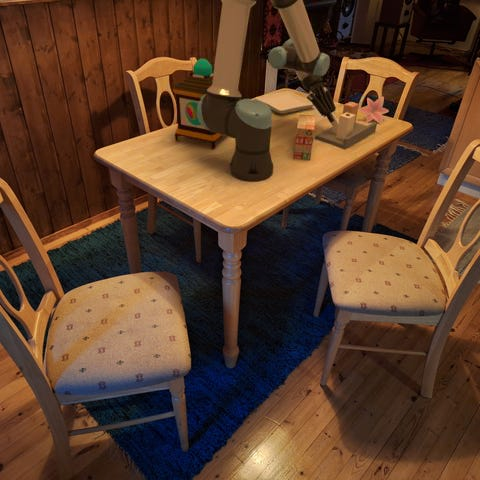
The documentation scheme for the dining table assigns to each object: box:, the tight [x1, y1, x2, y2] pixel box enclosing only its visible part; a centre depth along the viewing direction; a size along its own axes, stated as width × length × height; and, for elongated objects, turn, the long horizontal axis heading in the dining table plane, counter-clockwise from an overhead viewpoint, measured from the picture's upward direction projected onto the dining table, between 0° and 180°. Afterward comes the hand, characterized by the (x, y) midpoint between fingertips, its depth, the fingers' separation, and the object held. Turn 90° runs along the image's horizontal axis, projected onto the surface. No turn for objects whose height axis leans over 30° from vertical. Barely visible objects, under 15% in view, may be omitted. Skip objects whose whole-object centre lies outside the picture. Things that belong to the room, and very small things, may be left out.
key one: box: [336, 112, 356, 140], centre depth 164 cm, size 5×4×9 cm
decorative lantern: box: [172, 58, 224, 150], centre depth 158 cm, size 20×20×30 cm
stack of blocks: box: [293, 114, 316, 161], centre depth 158 cm, size 21×6×12 cm, turn 170°
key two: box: [342, 101, 360, 125], centre depth 174 cm, size 5×4×9 cm
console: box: [314, 121, 378, 150], centre depth 171 cm, size 24×14×4 cm, turn 137°
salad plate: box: [254, 90, 315, 115], centre depth 197 cm, size 21×21×3 cm
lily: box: [358, 96, 389, 125], centre depth 184 cm, size 12×12×10 cm
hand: (338, 128), depth 166 cm, fingers closed
